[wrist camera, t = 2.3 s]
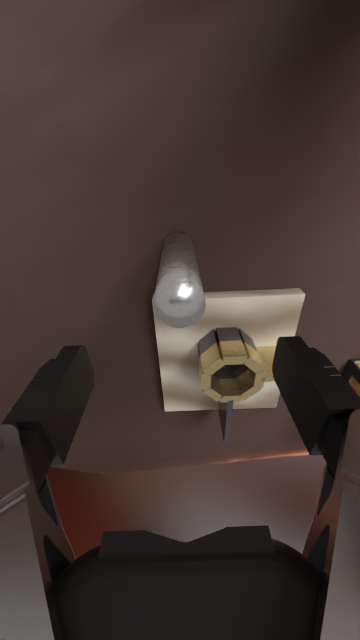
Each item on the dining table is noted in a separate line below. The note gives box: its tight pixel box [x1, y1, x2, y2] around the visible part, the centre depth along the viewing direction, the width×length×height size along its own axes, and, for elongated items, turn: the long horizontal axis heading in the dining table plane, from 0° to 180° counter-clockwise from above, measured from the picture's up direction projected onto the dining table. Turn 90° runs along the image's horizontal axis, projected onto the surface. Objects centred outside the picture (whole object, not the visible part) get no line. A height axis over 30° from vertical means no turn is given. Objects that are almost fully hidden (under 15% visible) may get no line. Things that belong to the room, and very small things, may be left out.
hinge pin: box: [153, 232, 206, 328], centre depth 19 cm, size 3×3×12 cm
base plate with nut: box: [152, 288, 305, 443], centre depth 29 cm, size 18×16×6 cm
